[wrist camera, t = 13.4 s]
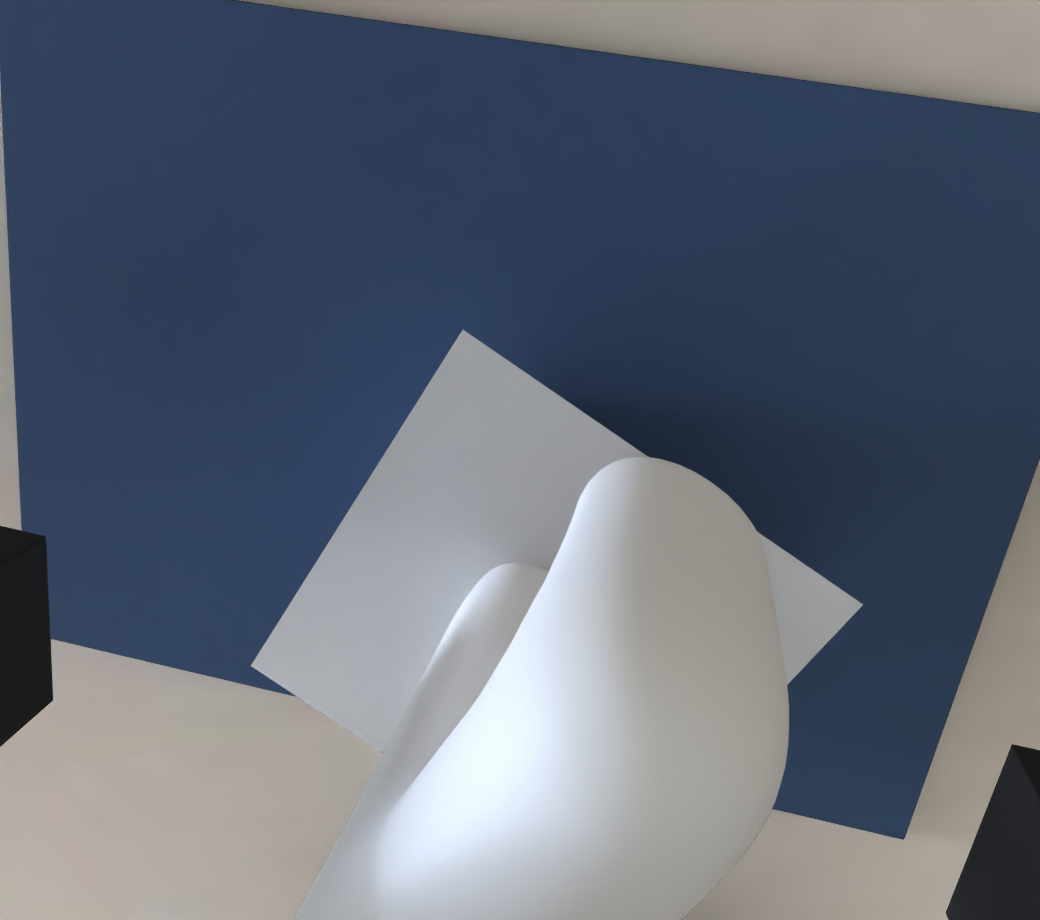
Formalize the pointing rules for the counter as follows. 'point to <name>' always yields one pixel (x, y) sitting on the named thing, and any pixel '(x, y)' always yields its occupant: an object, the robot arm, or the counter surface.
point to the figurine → (545, 665)
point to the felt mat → (513, 322)
